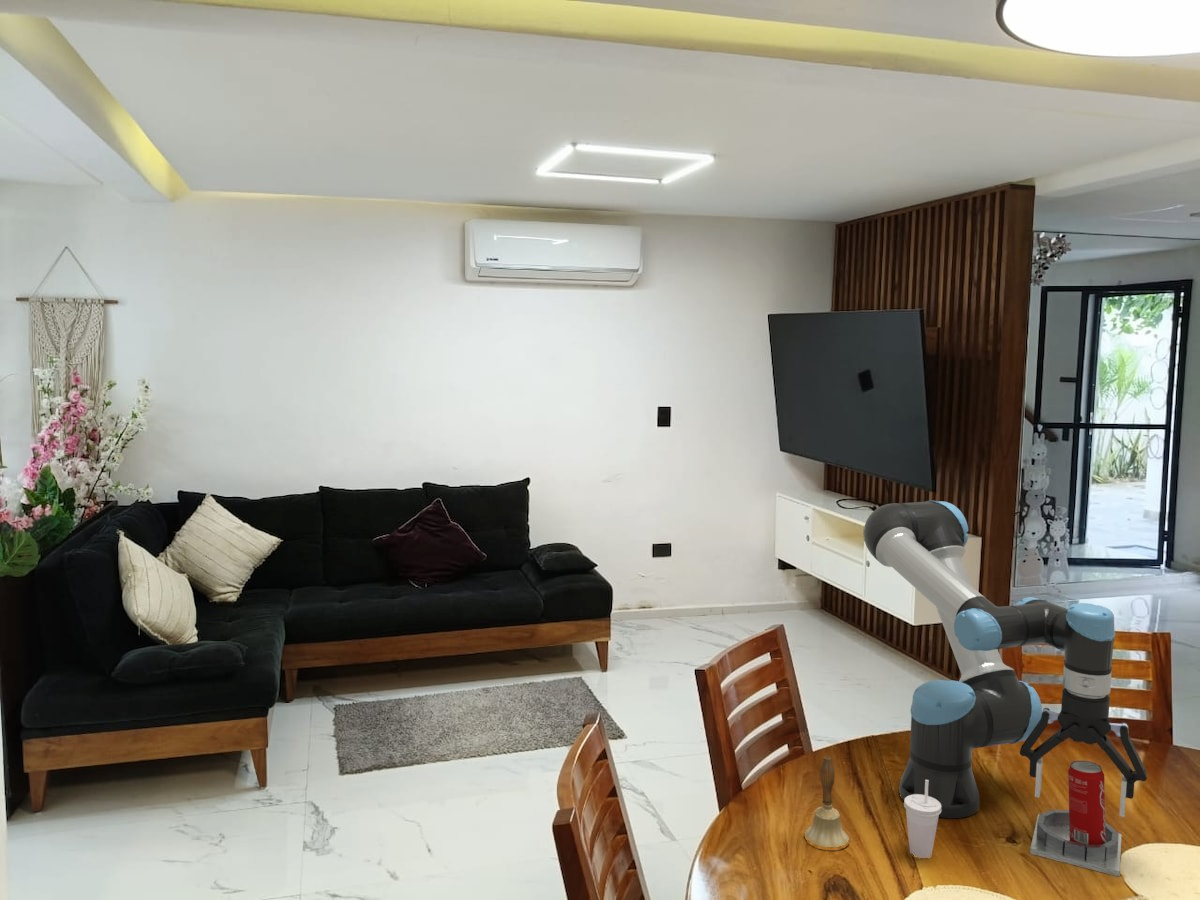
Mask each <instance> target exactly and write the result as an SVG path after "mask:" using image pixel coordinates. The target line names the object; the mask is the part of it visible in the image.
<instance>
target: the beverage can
mask: <svg viewBox="0 0 1200 900" xmlns="http://www.w3.org/2000/svg"><path fill="white" fill-rule="evenodd" d="M1067 773H1068V775H1067V776H1068V782H1067V783H1068V810H1069V832H1070V841H1072V842H1076V843H1080V844H1084V845H1102V844H1105V822H1106V801H1105V800H1106V799H1105V798H1106V797H1105V795H1106V793H1105V791H1106V787H1105V774H1104V772H1103V768H1102V766H1101V765H1100V764H1098V763H1096V762H1093V761H1089V760H1074V761H1071V762H1070V763H1069V767H1068V770H1067Z"/></svg>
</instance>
